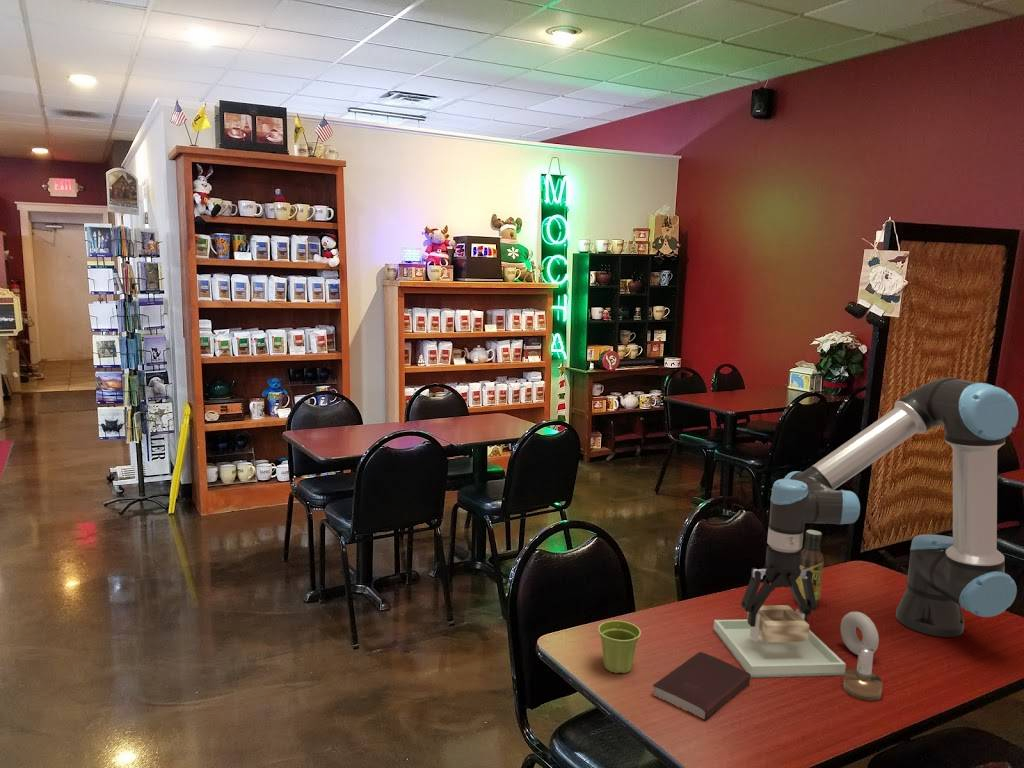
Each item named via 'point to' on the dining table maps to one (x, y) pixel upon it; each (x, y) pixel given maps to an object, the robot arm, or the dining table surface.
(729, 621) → the sage tray
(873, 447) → the robot arm
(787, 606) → the wooden square frame
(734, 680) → the book
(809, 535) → the sauce bottle
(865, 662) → the cylinder
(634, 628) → the plant pot
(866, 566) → the dining table surface
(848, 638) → the donut
